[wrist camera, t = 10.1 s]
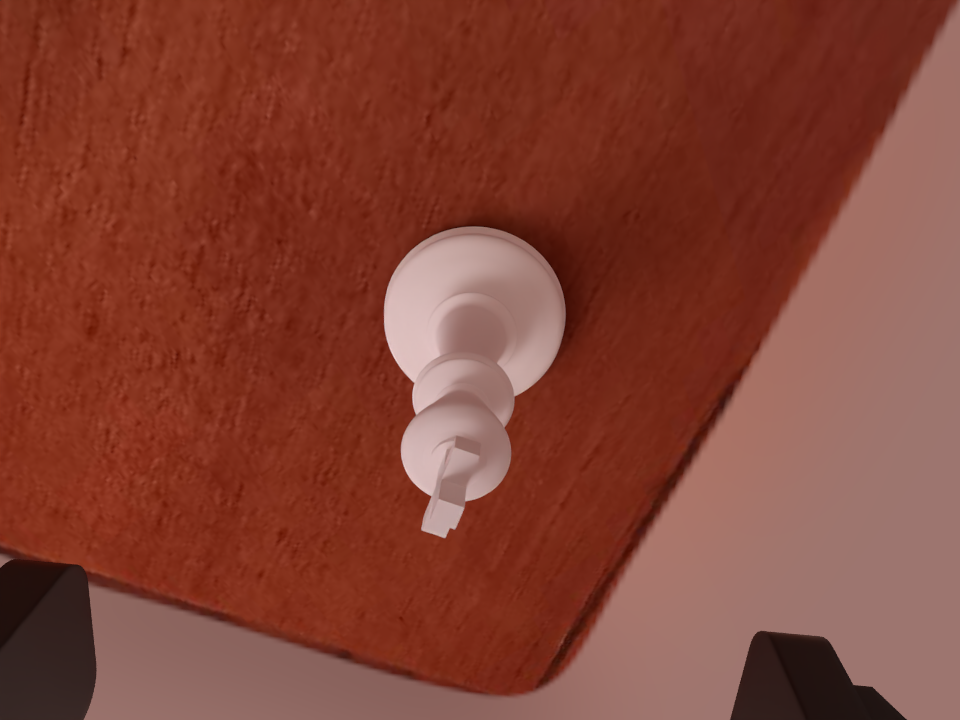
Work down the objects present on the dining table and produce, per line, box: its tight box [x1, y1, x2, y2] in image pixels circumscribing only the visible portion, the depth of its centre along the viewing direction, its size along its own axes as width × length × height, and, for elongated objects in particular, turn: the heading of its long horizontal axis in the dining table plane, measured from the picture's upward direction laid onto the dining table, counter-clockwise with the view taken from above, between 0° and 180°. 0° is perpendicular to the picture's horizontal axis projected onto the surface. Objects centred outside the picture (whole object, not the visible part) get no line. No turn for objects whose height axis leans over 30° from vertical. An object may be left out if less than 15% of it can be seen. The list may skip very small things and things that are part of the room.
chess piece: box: [384, 226, 566, 538], centre depth 18 cm, size 5×5×10 cm
